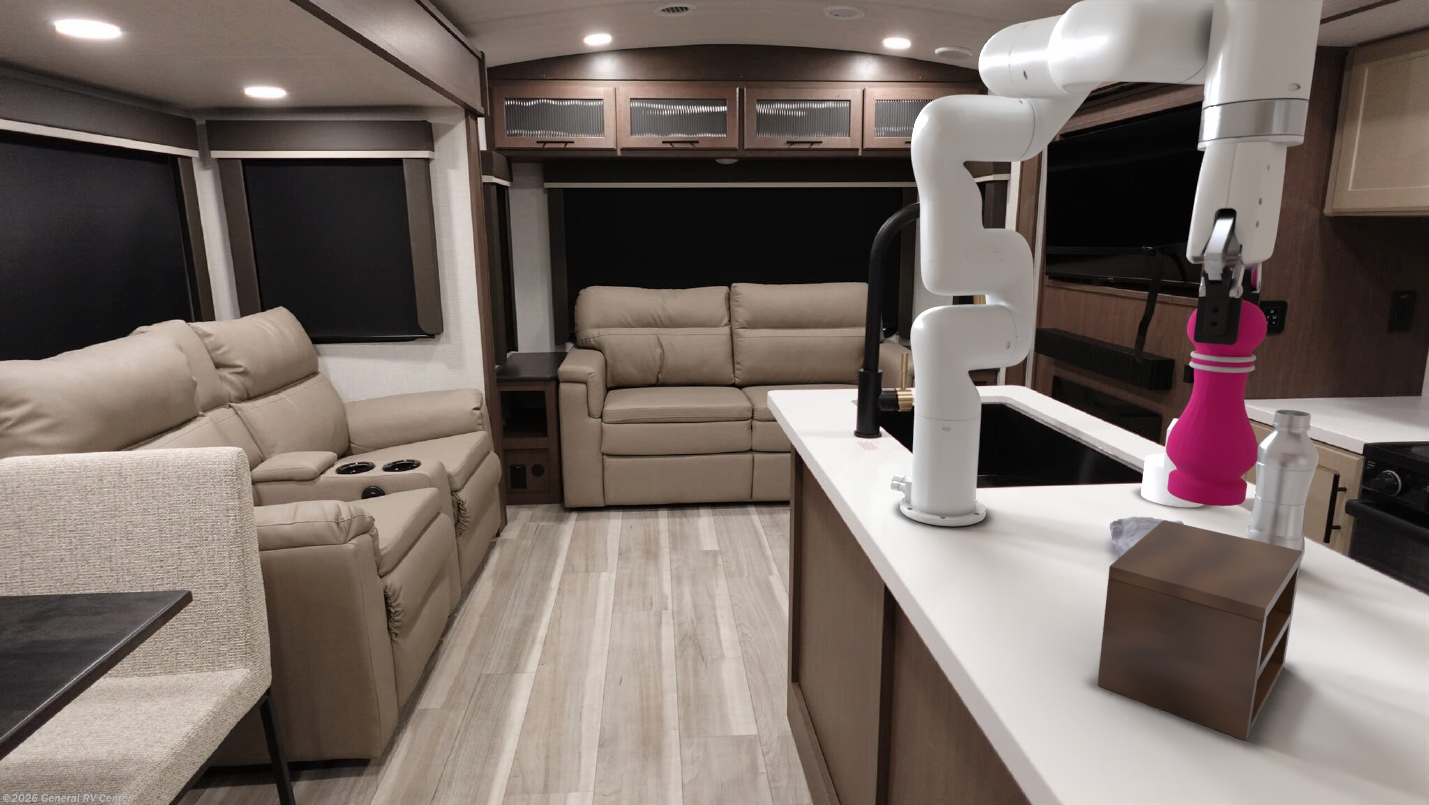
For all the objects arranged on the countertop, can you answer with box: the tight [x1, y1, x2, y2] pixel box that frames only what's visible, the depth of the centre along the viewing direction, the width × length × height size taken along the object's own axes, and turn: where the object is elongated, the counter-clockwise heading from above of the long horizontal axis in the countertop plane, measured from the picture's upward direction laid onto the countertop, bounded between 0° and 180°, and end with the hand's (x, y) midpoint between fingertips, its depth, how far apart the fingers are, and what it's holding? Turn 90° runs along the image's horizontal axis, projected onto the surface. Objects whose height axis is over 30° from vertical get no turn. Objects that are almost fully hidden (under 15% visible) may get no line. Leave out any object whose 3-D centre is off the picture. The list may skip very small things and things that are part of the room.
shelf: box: [1096, 519, 1302, 741], centre depth 74 cm, size 12×16×12 cm
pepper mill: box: [1165, 286, 1268, 507], centre depth 71 cm, size 7×7×20 cm
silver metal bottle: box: [1243, 409, 1320, 562], centre depth 98 cm, size 6×7×20 cm
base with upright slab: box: [1140, 418, 1205, 509], centre depth 124 cm, size 9×9×12 cm
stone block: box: [1109, 516, 1185, 559], centre depth 103 cm, size 12×5×10 cm
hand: (1224, 337), depth 70 cm, fingers closed on pepper mill, 6 cm apart
